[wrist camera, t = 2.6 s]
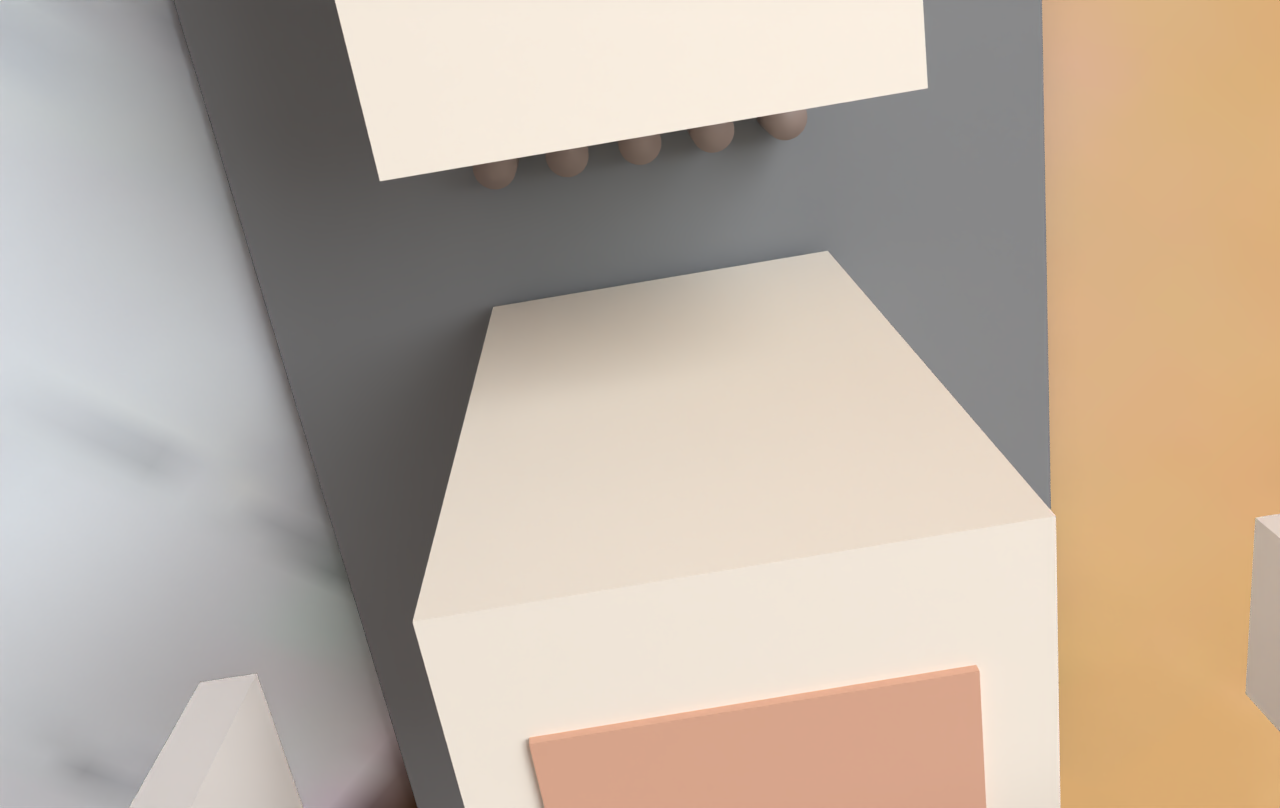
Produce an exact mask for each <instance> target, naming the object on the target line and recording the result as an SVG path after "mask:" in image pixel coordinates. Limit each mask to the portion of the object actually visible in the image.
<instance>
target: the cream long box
mask: <svg viewBox="0 0 1280 808" xmlns="http://www.w3.org/2000/svg"><path fill="white" fill-rule="evenodd" d="M335 3H336V7H337V11H338V15H339V19H340V23H341V27H342V31H343V35H344V39H345V43H346V47H347V51H348V55H349V59H350V63H351V67H352V71H353V75H354V79H355V83H356V87H357V91H358V95H359V99H360V103H361V107H362V111H363V115H364V119H365V123H366V127H367V131H368V135H369V139H370V143H371V147H372V151H373V155H374V159H375V163H376V167H377V172H378V176H379V180H380V181H385V180H391V179H397V178H402V177H408V176H414V175H420V174H426V173H432V172H438V171H444V170H449V169H455V168H461V167H467V166H473V173H474V176H475V178H476V179H477V181H478V182H479V183H480V184H481V185H483V186H484V187H486V188H489V189H502V188H504V187H506V186H507V185H509V184H510V183H511V182H512V180H513V179H514V176H515V173H516V170H517V167H518V164H519V158H520V157H526V156H532V155H538V154H544V153H545V157H546V162H547V164H548V166H549V168H550V169H551V170H552V171H553V172H554V173H555V174H557V175H559V176H562V177H573V176H576V175H578V174H579V173H581V172H582V171H583V170H584V168H585V167H586V165H587V162H588V158H589V153H588V146H591V145H597V144H603V143H608V142H614V141H617V142H618V146H619V150H620V153H621V155H622V156H623V157H624V159H625V160H627V161H628V162H630V163H632V164H635V165H644V164H647V163H650V162H651V161H653V160H654V159H655V158H656V157H657V155H658V154H659V152H660V149H661V137H660V134H661V133H667V132H673V131H679V130H685V129H687V131H688V133H689V135H690V137H691V138H692V140H693V141H694V143H695V144H696V146H697V147H698V148H700V149H701V150H703V151H705V152H709V153H715V152H719V151H721V150H723V149H725V148H726V147H727V146H728V145H729V144H730V142H731V141H732V139H733V136H734V124H733V121H738V120H744V119H750V118H756V119H757V121H758V123H759V124H760V125H761V126H762V127H763V128H764V129H765V130H766V131H767V132H768V133H769V134H770V135H772V136H773V137H774V138H776V139H779V140H791V139H793V138H795V137H797V136H798V135H799V134H801V132H802V131H803V130H804V128H805V126H806V123H807V111H806V109H809V108H815V107H820V106H826V105H832V104H838V103H844V102H850V101H856V100H862V99H868V98H873V97H879V96H885V95H891V94H897V93H903V92H909V91H915V90H920V89H926V88H928V81H927V64H926V46H925V28H924V11H923V0H335Z"/></svg>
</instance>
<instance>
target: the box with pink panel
mask: <svg viewBox="0 0 1280 808" xmlns="http://www.w3.org/2000/svg"><path fill="white" fill-rule="evenodd" d="M413 626H414V629H415V633H416V636H417V640H418V643H419V647H420V650H421V654H422V658H423V661H424V665H425V668H426V672H427V675H428V679H429V682H430V686H431V690H432V693H433V697H434V700H435V704H436V707H437V711H438V714H439V718H440V722H441V725H442V729H443V732H444V736H445V739H446V743H447V746H448V750H449V754H450V757H451V761H452V764H453V768H454V771H455V775H456V778H457V782H458V786H459V789H460V793H461V796H462V800H463V803H464V807H465V808H1060V752H1059V688H1058V624H1057V560H1056V516H1055V515H1054V513H1053V512H1052V511H1051V510H1050V509H1049V508H1048V506H1047V505H1046V504H1045V503H1044V502H1043V501H1042V499H1041V498H1040V497H1039V496H1038V495H1037V494H1036V492H1035V491H1034V490H1033V489H1032V488H1031V487H1030V485H1029V484H1028V483H1027V482H1026V481H1025V480H1024V479H1023V477H1022V476H1021V475H1020V474H1019V473H1018V472H1017V470H1016V469H1015V468H1014V467H1013V466H1012V465H1011V463H1010V462H1009V461H1008V460H1007V459H1006V458H1005V456H1004V455H1003V454H1002V453H1001V452H1000V451H999V449H998V448H997V447H996V446H995V445H994V444H993V442H992V441H991V440H990V439H989V438H988V437H987V435H986V434H985V433H984V432H983V431H982V430H981V428H980V427H979V426H978V425H977V424H976V423H975V422H974V420H973V419H972V418H971V417H970V416H969V415H968V413H967V412H966V411H965V410H964V409H963V408H962V406H961V405H960V404H959V403H958V402H957V401H956V399H955V398H954V397H953V396H952V395H951V394H950V392H949V391H948V390H947V389H946V388H945V387H944V385H943V384H942V383H941V382H940V381H939V380H938V378H937V377H936V376H935V375H934V374H933V373H932V372H931V370H930V369H929V368H928V367H927V366H926V365H925V363H924V362H923V361H922V360H921V359H920V358H919V356H918V355H917V354H916V353H915V352H914V351H913V349H912V348H911V347H910V346H909V345H908V344H907V342H906V341H905V340H904V339H903V338H902V337H901V335H900V334H899V333H898V332H897V331H896V330H895V328H894V327H893V326H892V325H891V324H890V323H889V321H888V320H887V319H886V318H885V317H884V316H883V315H882V313H881V312H880V311H879V310H878V309H877V308H876V306H875V305H874V304H873V303H872V302H871V301H870V299H869V298H868V297H867V296H866V295H865V294H864V292H863V291H862V290H861V289H860V288H859V287H858V285H857V284H856V283H855V282H854V281H853V280H852V278H851V277H850V276H849V275H848V274H847V273H846V271H845V270H844V269H843V268H842V267H841V266H840V264H839V263H838V262H837V261H836V260H835V259H834V258H833V256H832V255H831V254H830V253H829V252H828V251H823V252H817V253H811V254H805V255H799V256H793V257H787V258H782V259H776V260H770V261H764V262H758V263H752V264H746V265H740V266H734V267H728V268H722V269H716V270H710V271H704V272H698V273H692V274H686V275H680V276H674V277H669V278H663V279H657V280H651V281H645V282H639V283H633V284H627V285H621V286H615V287H609V288H603V289H597V290H591V291H585V292H579V293H573V294H567V295H561V296H555V297H550V298H544V299H538V300H532V301H526V302H520V303H514V304H508V305H502V306H496V307H493V309H492V313H491V317H490V321H489V325H488V329H487V333H486V337H485V341H484V345H483V349H482V352H481V356H480V360H479V364H478V368H477V372H476V376H475V380H474V384H473V388H472V391H471V395H470V399H469V403H468V407H467V411H466V415H465V419H464V423H463V427H462V431H461V434H460V438H459V442H458V446H457V450H456V454H455V458H454V462H453V466H452V470H451V473H450V477H449V481H448V485H447V489H446V493H445V497H444V501H443V505H442V509H441V512H440V516H439V520H438V524H437V528H436V532H435V536H434V540H433V544H432V548H431V552H430V555H429V559H428V563H427V567H426V571H425V575H424V579H423V583H422V587H421V591H420V594H419V598H418V602H417V606H416V610H415V614H414V618H413Z"/></svg>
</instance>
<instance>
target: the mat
mask: <svg viewBox="0 0 1280 808" xmlns="http://www.w3.org/2000/svg"><path fill="white" fill-rule="evenodd" d="M174 3H175V6H176V10H177V13H178V16H179V20H180V23H181V26H182V29H183V33H184V36H185V39H186V43H187V46H188V49H189V53H190V56H191V59H192V63H193V66H194V69H195V73H196V76H197V79H198V82H199V86H200V89H201V92H202V96H203V99H204V102H205V106H206V109H207V112H208V116H209V119H210V122H211V125H212V129H213V132H214V135H215V139H216V142H217V145H218V149H219V152H220V155H221V159H222V162H223V165H224V168H225V172H226V175H227V178H228V182H229V185H230V188H231V192H232V195H233V198H234V202H235V205H236V208H237V212H238V215H239V218H240V221H241V225H242V228H243V231H244V235H245V238H246V241H247V245H248V248H249V251H250V255H251V258H252V261H253V264H254V268H255V271H256V274H257V278H258V281H259V284H260V288H261V291H262V294H263V298H264V301H265V304H266V307H267V311H268V314H269V317H270V321H271V324H272V327H273V331H274V334H275V337H276V341H277V344H278V347H279V351H280V354H281V357H282V360H283V364H284V367H285V370H286V374H287V377H288V380H289V384H290V387H291V390H292V394H293V397H294V400H295V403H296V407H297V410H298V413H299V417H300V420H301V423H302V427H303V430H304V433H305V437H306V440H307V443H308V446H309V450H310V453H311V456H312V460H313V463H314V466H315V470H316V473H317V476H318V480H319V483H320V486H321V490H322V493H323V496H324V499H325V503H326V506H327V509H328V513H329V516H330V519H331V523H332V526H333V529H334V533H335V536H336V539H337V542H338V546H339V549H340V552H341V556H342V559H343V562H344V566H345V569H346V572H347V576H348V579H349V582H350V585H351V589H352V592H353V595H354V599H355V602H356V605H357V609H358V612H359V615H360V619H361V622H362V625H363V629H364V632H365V635H366V638H367V642H368V645H369V648H370V652H371V655H372V658H373V662H374V665H375V668H376V672H377V675H378V678H379V681H380V685H381V688H382V691H383V695H384V698H385V701H386V705H387V708H388V711H389V715H390V718H391V721H392V724H393V728H394V731H395V734H396V738H397V741H398V744H399V748H400V751H401V754H402V758H403V761H404V764H405V768H406V771H407V774H408V777H409V781H410V784H411V787H412V791H413V794H414V797H415V801H416V804H417V807H418V808H465V807H464V803H463V800H462V796H461V793H460V789H459V786H458V782H457V778H456V775H455V771H454V768H453V764H452V761H451V757H450V754H449V750H448V746H447V743H446V739H445V736H444V732H443V729H442V725H441V722H440V718H439V714H438V711H437V707H436V704H435V700H434V697H433V693H432V690H431V686H430V682H429V679H428V675H427V672H426V668H425V665H424V661H423V658H422V654H421V650H420V647H419V643H418V640H417V636H416V633H415V629H414V626H413V618H414V614H415V610H416V606H417V602H418V598H419V594H420V591H421V587H422V583H423V579H424V575H425V571H426V567H427V563H428V559H429V555H430V552H431V548H432V544H433V540H434V536H435V532H436V528H437V524H438V520H439V516H440V512H441V509H442V505H443V501H444V497H445V493H446V489H447V485H448V481H449V477H450V473H451V470H452V466H453V462H454V458H455V454H456V450H457V446H458V442H459V438H460V434H461V431H462V427H463V423H464V419H465V415H466V411H467V407H468V403H469V399H470V395H471V391H472V388H473V384H474V380H475V376H476V372H477V368H478V364H479V360H480V356H481V352H482V349H483V345H484V341H485V337H486V333H487V329H488V325H489V321H490V317H491V313H492V309H493V307H496V306H502V305H508V304H514V303H520V302H526V301H532V300H538V299H544V298H550V297H555V296H561V295H567V294H573V293H579V292H585V291H591V290H597V289H603V288H609V287H615V286H621V285H627V284H633V283H639V282H645V281H651V280H657V279H663V278H669V277H674V276H680V275H686V274H692V273H698V272H704V271H710V270H716V269H722V268H728V267H734V266H740V265H746V264H752V263H758V262H764V261H770V260H776V259H782V258H787V257H793V256H799V255H805V254H811V253H817V252H823V251H828V252H829V253H830V254H831V255H832V256H833V258H834V259H835V260H836V261H837V262H838V263H839V264H840V266H841V267H842V268H843V269H844V270H845V271H846V273H847V274H848V275H849V276H850V277H851V278H852V280H853V281H854V282H855V283H856V284H857V285H858V287H859V288H860V289H861V290H862V291H863V292H864V294H865V295H866V296H867V297H868V298H869V299H870V301H871V302H872V303H873V304H874V305H875V306H876V308H877V309H878V310H879V311H880V312H881V313H882V315H883V316H884V317H885V318H886V319H887V320H888V321H889V323H890V324H891V325H892V326H893V327H894V328H895V330H896V331H897V332H898V333H899V334H900V335H901V337H902V338H903V339H904V340H905V341H906V342H907V344H908V345H909V346H910V347H911V348H912V349H913V351H914V352H915V353H916V354H917V355H918V356H919V358H920V359H921V360H922V361H923V362H924V363H925V365H926V366H927V367H928V368H929V369H930V370H931V372H932V373H933V374H934V375H935V376H936V377H937V378H938V380H939V381H940V382H941V383H942V384H943V385H944V387H945V388H946V389H947V390H948V391H949V392H950V394H951V395H952V396H953V397H954V398H955V399H956V401H957V402H958V403H959V404H960V405H961V406H962V408H963V409H964V410H965V411H966V412H967V413H968V415H969V416H970V417H971V418H972V419H973V420H974V422H975V423H976V424H977V425H978V426H979V427H980V428H981V430H982V431H983V432H984V433H985V434H986V435H987V437H988V438H989V439H990V440H991V441H992V442H993V444H994V445H995V446H996V447H997V448H998V449H999V451H1000V452H1001V453H1002V454H1003V455H1004V456H1005V458H1006V459H1007V460H1008V461H1009V462H1010V463H1011V465H1012V466H1013V467H1014V468H1015V469H1016V470H1017V472H1018V473H1019V474H1020V475H1021V476H1022V477H1023V479H1024V480H1025V481H1026V482H1027V483H1028V484H1029V485H1030V487H1031V488H1032V489H1033V490H1034V491H1035V492H1036V494H1037V495H1038V496H1039V497H1040V498H1041V499H1042V501H1043V502H1044V503H1045V504H1046V505H1047V506H1048V508H1049V509H1050V510H1051V494H1050V437H1049V380H1048V323H1047V266H1046V209H1045V152H1044V96H1043V39H1042V0H923V11H924V28H925V46H926V64H927V81H928V88H926V89H920V90H915V91H909V92H903V93H897V94H891V95H885V96H879V97H873V98H868V99H862V100H856V101H850V102H844V103H838V104H832V105H826V106H820V107H815V108H809V109H806V111H807V123H806V126H805V128H804V130H803V131H802V132H801V134H799V135H798V136H797V137H795V138H793V139H791V140H779V139H776V138H774V137H773V136H772V135H770V134H769V133H768V132H767V131H766V130H765V129H764V128H763V127H762V126H761V125H760V124H759V123H758V121H757V119H756V118H750V119H744V120H738V121H733V124H734V136H733V139H732V141H731V142H730V144H729V145H728V146H727V147H726V148H725V149H723V150H721V151H719V152H715V153H709V152H705V151H703V150H701V149H700V148H698V147H697V146H696V144H695V143H694V141H693V140H692V138H691V137H690V135H689V133H688V131H687V129H685V130H679V131H673V132H667V133H661V134H660V137H661V149H660V152H659V154H658V155H657V157H656V158H655V159H654V160H653V161H651V162H650V163H647V164H644V165H635V164H632V163H630V162H628V161H627V160H625V159H624V157H623V156H622V155H621V153H620V150H619V146H618V142H617V141H614V142H608V143H603V144H597V145H591V146H588V153H589V158H588V162H587V165H586V167H585V168H584V170H583V171H582V172H581V173H579V174H578V175H576V176H573V177H562V176H559V175H557V174H555V173H554V172H553V171H552V170H551V169H550V168H549V166H548V164H547V162H546V157H545V153H544V154H538V155H532V156H526V157H520V158H519V164H518V167H517V170H516V173H515V176H514V179H513V180H512V182H511V183H510V184H509V185H507V186H506V187H504V188H502V189H489V188H486V187H484V186H483V185H481V184H480V183H479V182H478V181H477V179H476V178H475V176H474V173H473V166H467V167H461V168H455V169H449V170H444V171H438V172H432V173H426V174H420V175H414V176H408V177H402V178H397V179H391V180H385V181H380V180H379V176H378V172H377V167H376V163H375V159H374V155H373V151H372V147H371V143H370V139H369V135H368V131H367V127H366V123H365V119H364V115H363V111H362V107H361V103H360V99H359V95H358V91H357V87H356V83H355V79H354V75H353V71H352V67H351V63H350V59H349V55H348V51H347V47H346V43H345V39H344V35H343V31H342V27H341V23H340V19H339V15H338V11H337V7H336V3H335V0H174Z"/></svg>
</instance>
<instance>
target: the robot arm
mask: <svg viewBox="0 0 1280 808" xmlns="http://www.w3.org/2000/svg"><path fill="white" fill-rule="evenodd" d="M1246 695H1247V696H1248V697H1249V698H1250V699H1251V700H1252V701H1253V702H1254V704H1255V705H1256V706H1257V707H1258V708H1259V709H1260V710H1261V711H1262V713H1263V714H1264V715H1265V716H1266V717H1267V718H1268V719H1269V720H1270V721H1271V723H1272V724H1273V725H1274V726H1275V727H1276V728H1277V729H1278V730H1279V731H1280V514H1276V515H1270V516H1263V517H1257V518H1255V534H1254V552H1253V569H1252V587H1251V605H1250V623H1249V641H1248V659H1247V676H1246ZM129 808H303V805H302V803H301V800H300V797H299V794H298V791H297V788H296V785H295V782H294V780H293V777H292V774H291V771H290V768H289V765H288V762H287V759H286V756H285V754H284V751H283V748H282V745H281V742H280V739H279V736H278V733H277V730H276V728H275V725H274V722H273V719H272V716H271V713H270V710H269V707H268V704H267V702H266V699H265V696H264V693H263V690H262V687H261V684H260V681H259V679H258V676H257V673H255V674H249V675H243V676H236V677H230V678H223V679H217V680H210V681H204V682H200V683H199V685H198V686H197V688H196V690H195V692H194V693H193V695H192V697H191V699H190V701H189V702H188V704H187V706H186V708H185V709H184V711H183V713H182V715H181V716H180V718H179V720H178V722H177V724H176V725H175V727H174V729H173V731H172V732H171V734H170V736H169V738H168V739H167V741H166V743H165V745H164V747H163V748H162V750H161V752H160V754H159V755H158V757H157V759H156V761H155V762H154V764H153V766H152V768H151V770H150V771H149V773H148V775H147V777H146V778H145V780H144V782H143V784H142V785H141V787H140V789H139V791H138V793H137V794H136V796H135V798H134V800H133V801H132V803H131V805H130V807H129Z"/></svg>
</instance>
